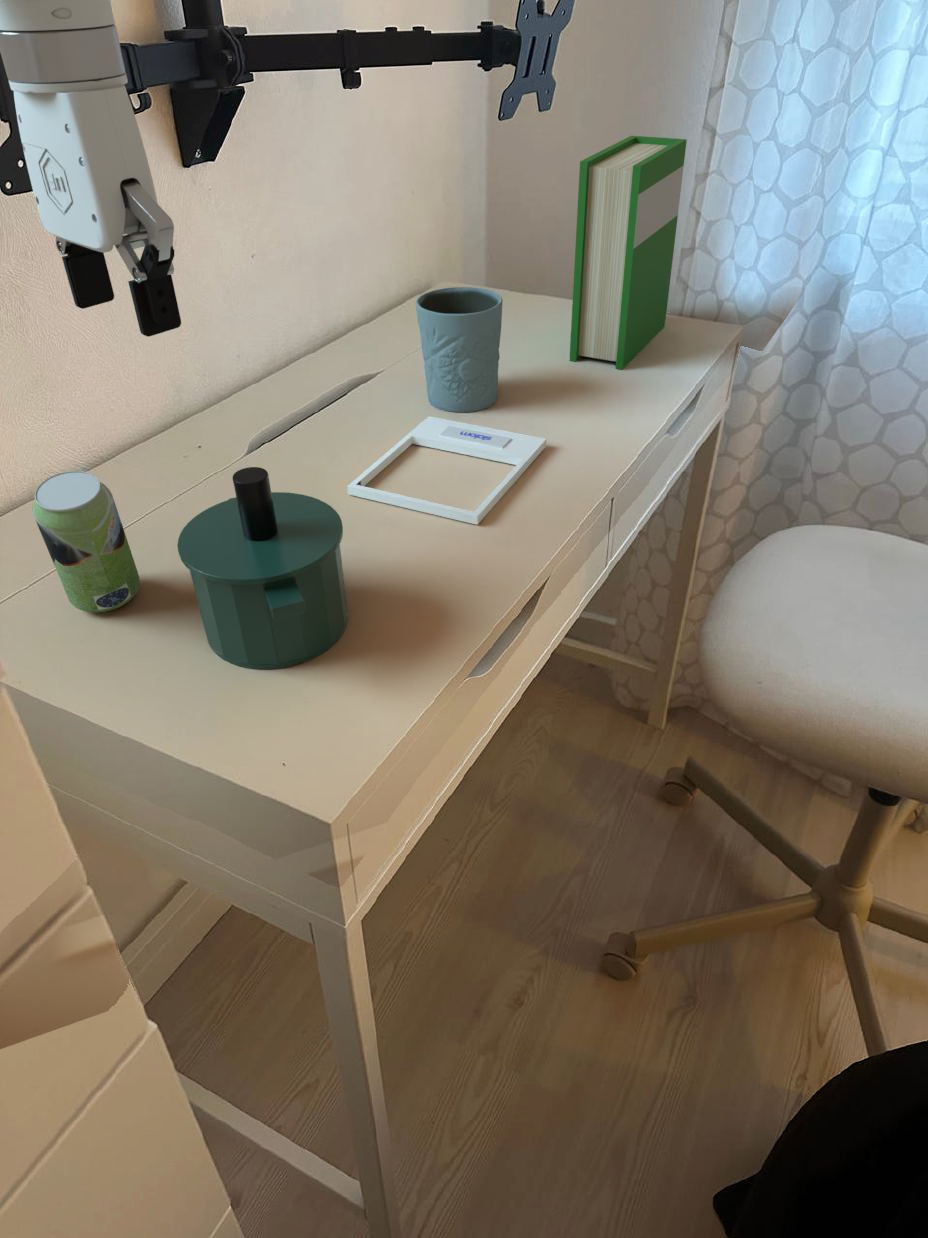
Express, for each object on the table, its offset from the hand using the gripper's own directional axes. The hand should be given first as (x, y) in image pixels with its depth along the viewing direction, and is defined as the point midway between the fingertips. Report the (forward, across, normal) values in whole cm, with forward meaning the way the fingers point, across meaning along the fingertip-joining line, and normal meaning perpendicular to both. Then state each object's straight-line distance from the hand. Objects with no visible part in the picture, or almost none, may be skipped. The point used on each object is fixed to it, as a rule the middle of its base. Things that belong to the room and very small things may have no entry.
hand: (127, 316), depth 70 cm
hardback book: (+22, 0, +70) cm, 73 cm away
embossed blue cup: (+22, -4, +42) cm, 48 cm away
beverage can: (+22, +1, -9) cm, 24 cm away
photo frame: (+22, +8, +28) cm, 36 cm away
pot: (+22, +15, -1) cm, 27 cm away
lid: (+14, +15, -1) cm, 20 cm away
